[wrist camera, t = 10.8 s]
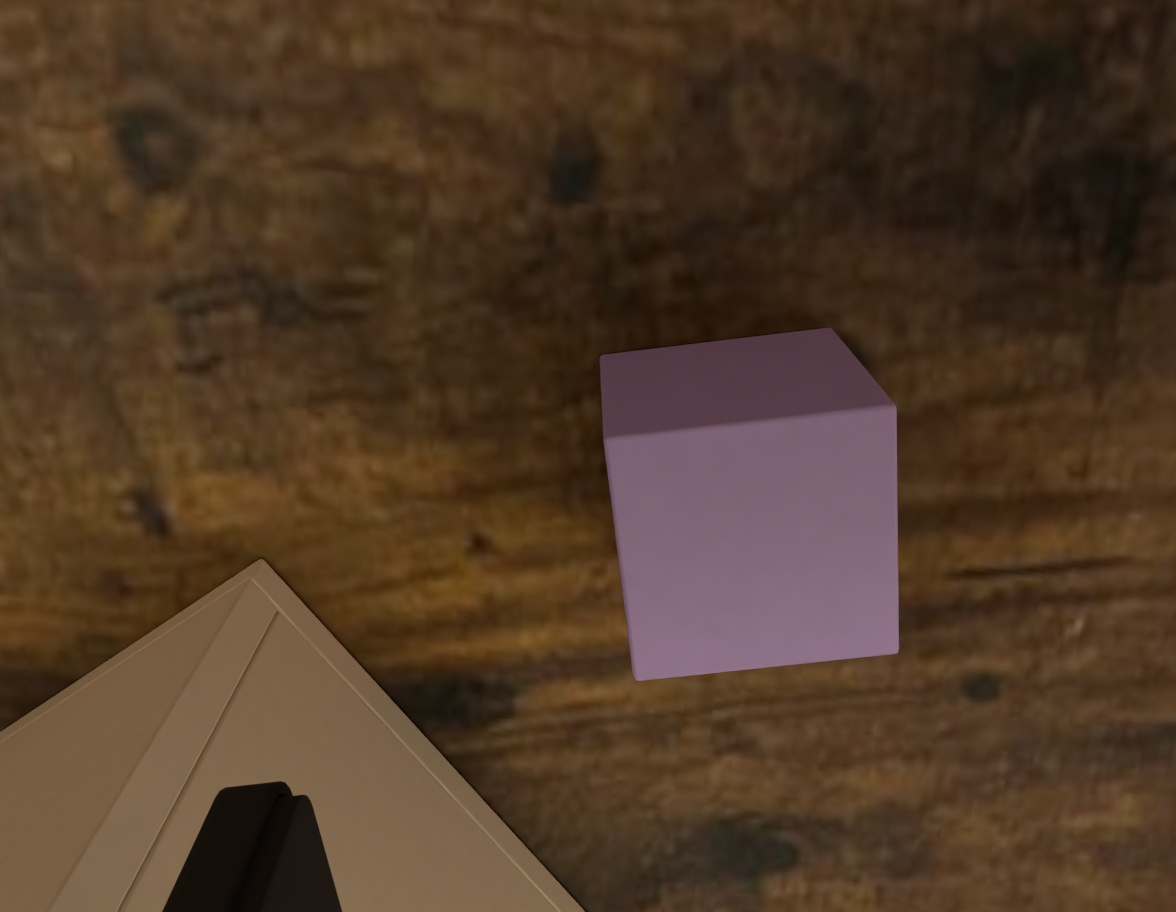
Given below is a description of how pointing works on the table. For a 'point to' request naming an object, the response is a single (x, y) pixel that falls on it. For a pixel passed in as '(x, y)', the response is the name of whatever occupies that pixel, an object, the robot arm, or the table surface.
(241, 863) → the robot arm
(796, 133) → the table surface
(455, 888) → the compartment
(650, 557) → the block
